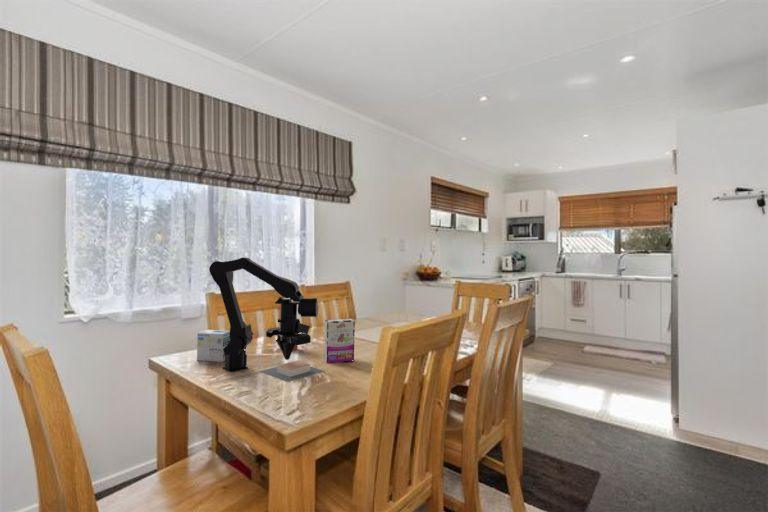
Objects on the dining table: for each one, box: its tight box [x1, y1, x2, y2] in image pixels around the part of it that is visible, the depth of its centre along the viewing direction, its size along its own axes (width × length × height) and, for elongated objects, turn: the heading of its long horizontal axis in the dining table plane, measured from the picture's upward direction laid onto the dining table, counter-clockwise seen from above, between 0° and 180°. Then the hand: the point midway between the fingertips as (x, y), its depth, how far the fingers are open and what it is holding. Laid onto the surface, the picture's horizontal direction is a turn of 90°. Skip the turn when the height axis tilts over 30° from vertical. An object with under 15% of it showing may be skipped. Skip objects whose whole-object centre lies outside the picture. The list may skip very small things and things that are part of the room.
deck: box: [276, 359, 311, 377], centre depth 134 cm, size 9×2×7 cm
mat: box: [259, 366, 325, 383], centre depth 135 cm, size 16×16×1 cm
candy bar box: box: [323, 318, 356, 364], centre depth 150 cm, size 11×5×16 cm, turn 112°
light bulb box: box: [196, 329, 230, 363], centre depth 147 cm, size 11×7×11 cm, turn 84°
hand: (287, 359), depth 137 cm, fingers closed
